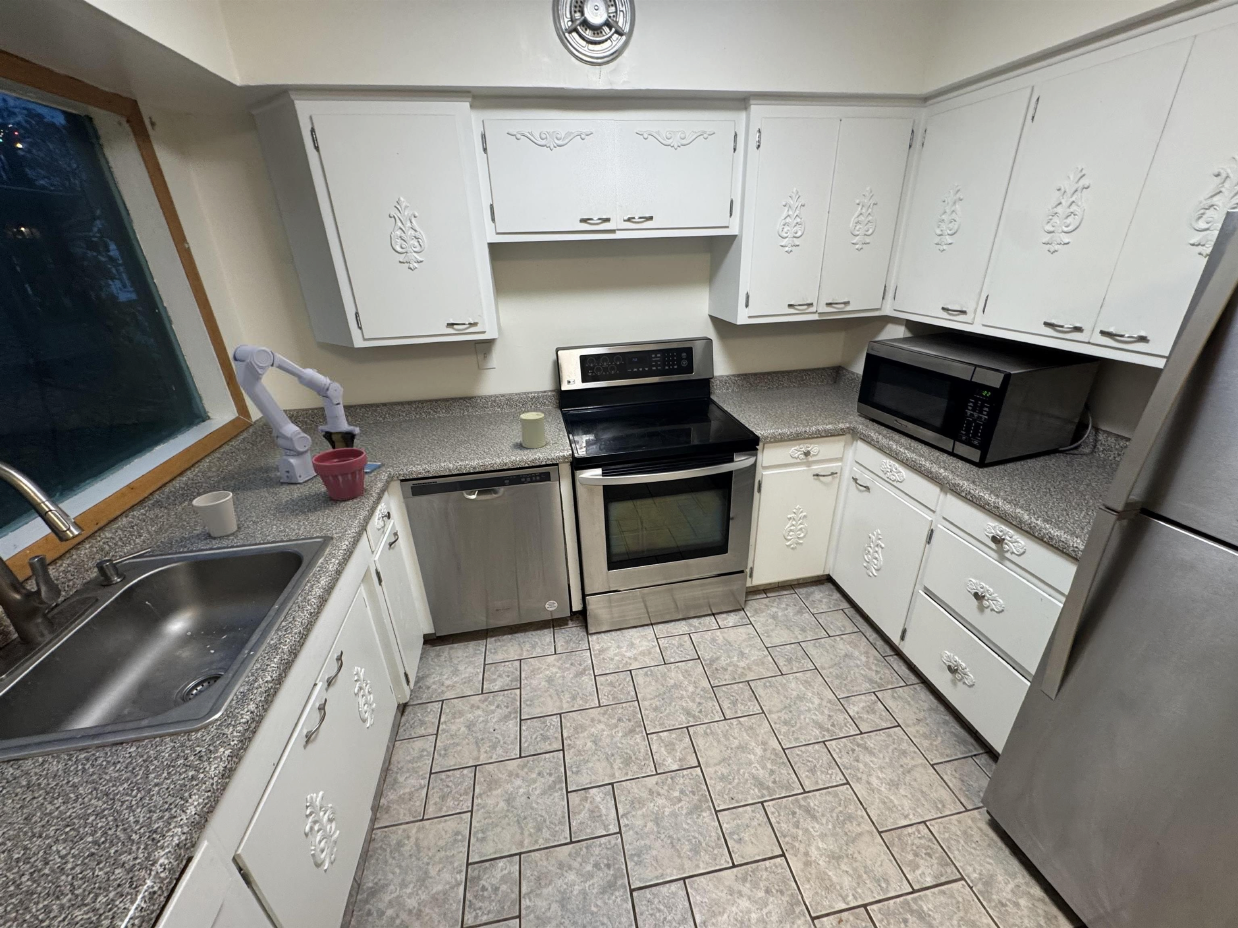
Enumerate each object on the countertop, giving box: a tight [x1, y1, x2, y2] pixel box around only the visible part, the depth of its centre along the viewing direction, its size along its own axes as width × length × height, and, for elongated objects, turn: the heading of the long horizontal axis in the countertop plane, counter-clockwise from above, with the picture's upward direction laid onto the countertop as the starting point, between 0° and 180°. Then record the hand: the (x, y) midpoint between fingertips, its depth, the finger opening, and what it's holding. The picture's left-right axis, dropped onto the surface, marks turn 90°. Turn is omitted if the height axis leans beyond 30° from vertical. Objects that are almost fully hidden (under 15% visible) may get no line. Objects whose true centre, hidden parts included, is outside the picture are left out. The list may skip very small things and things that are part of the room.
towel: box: [364, 461, 384, 474], centre depth 174 cm, size 8×9×1 cm
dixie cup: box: [191, 490, 238, 538], centre depth 132 cm, size 8×8×10 cm
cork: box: [332, 432, 346, 449], centre depth 179 cm, size 6×6×11 cm
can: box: [519, 411, 547, 449], centre depth 193 cm, size 9×9×12 cm
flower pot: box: [311, 447, 368, 501], centre depth 153 cm, size 14×14×13 cm
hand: (343, 451), depth 180 cm, fingers closed on cork, 5 cm apart
